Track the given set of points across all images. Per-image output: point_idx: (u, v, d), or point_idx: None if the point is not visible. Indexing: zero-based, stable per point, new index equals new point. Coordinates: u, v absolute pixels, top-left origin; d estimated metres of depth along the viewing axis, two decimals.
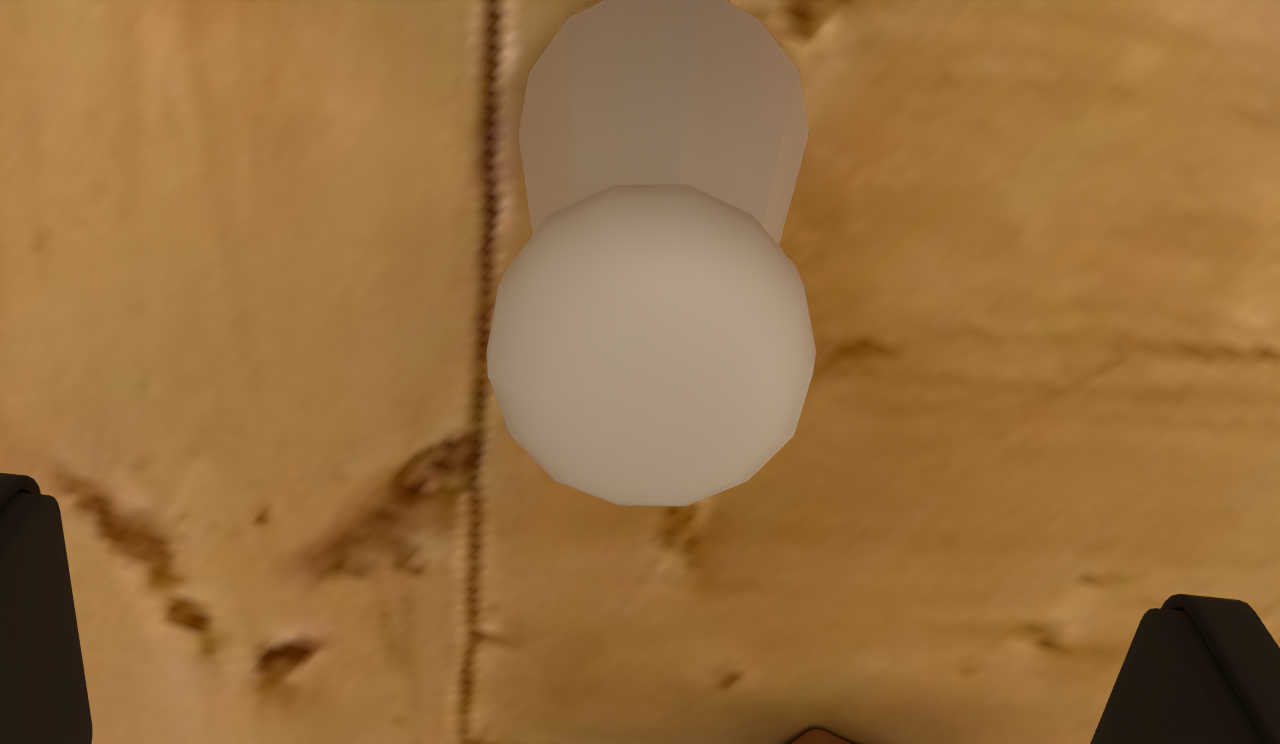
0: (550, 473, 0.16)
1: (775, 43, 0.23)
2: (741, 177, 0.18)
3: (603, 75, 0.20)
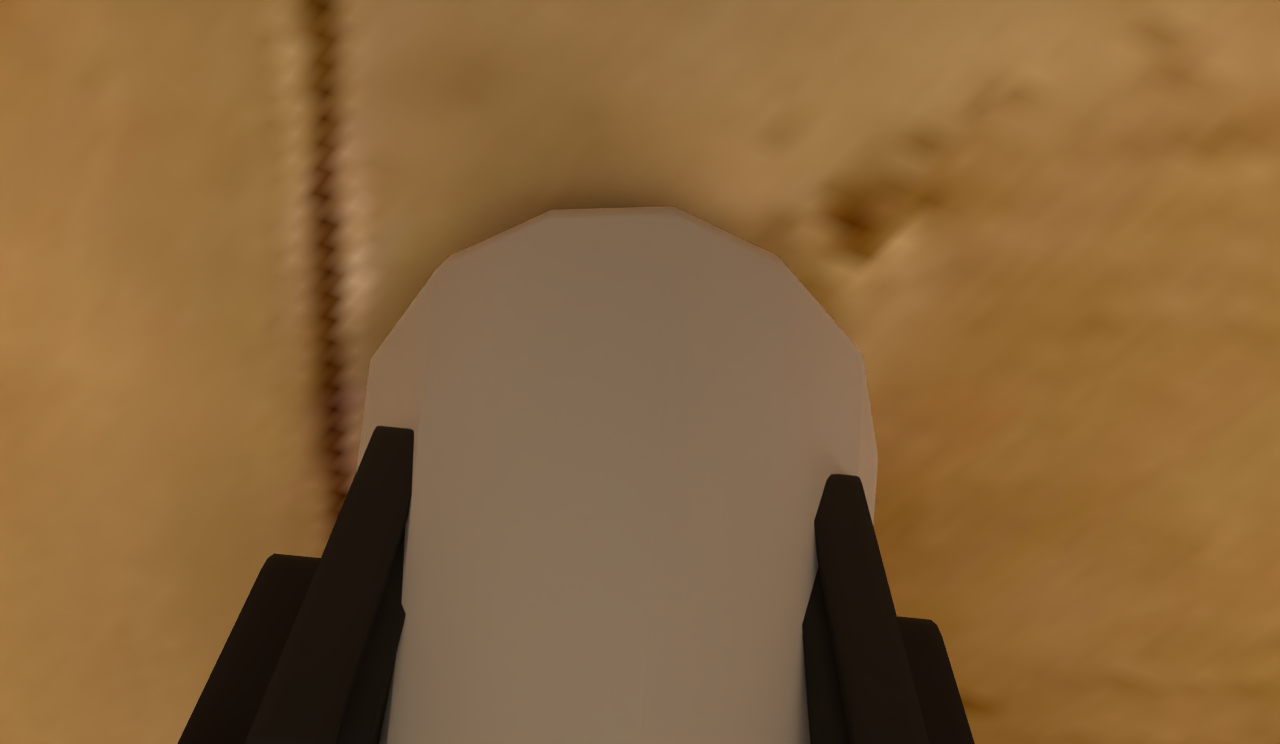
0: None
1: (821, 316, 0.12)
2: None
3: (480, 464, 0.09)
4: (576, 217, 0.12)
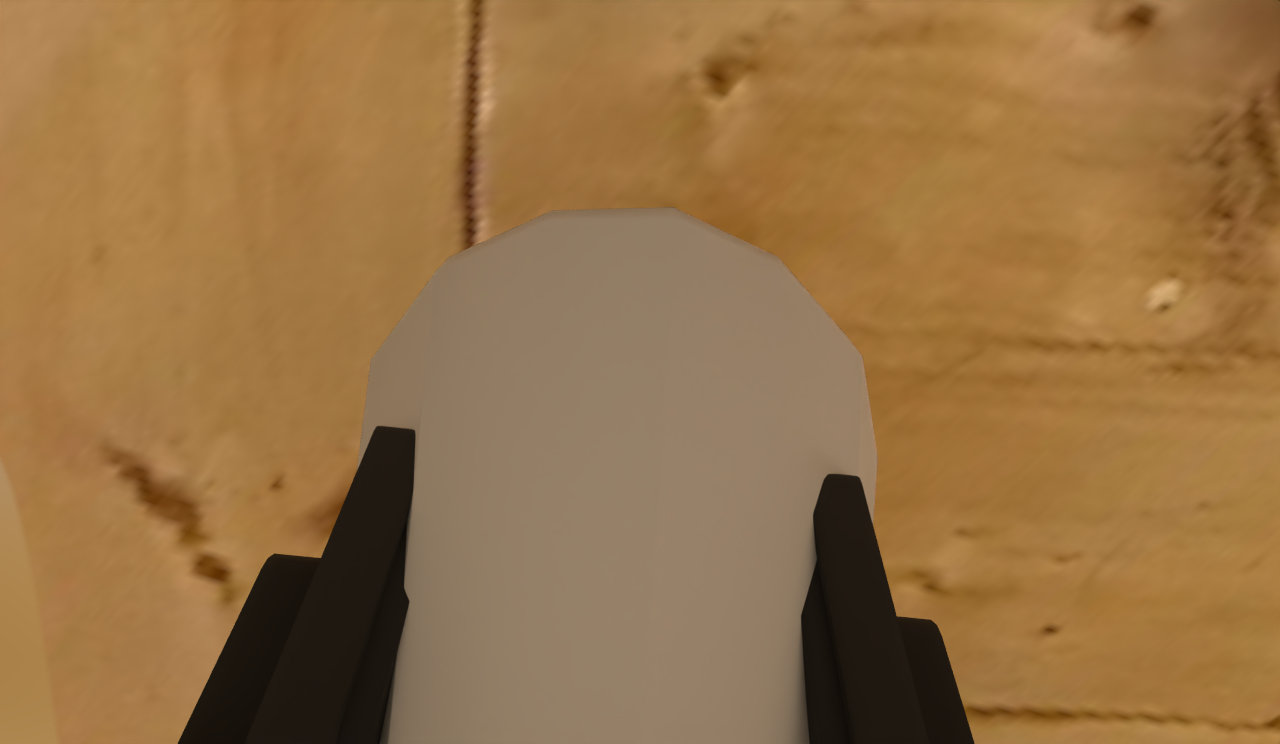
0: None
1: (821, 317, 0.12)
2: None
3: (479, 465, 0.10)
4: (576, 218, 0.12)
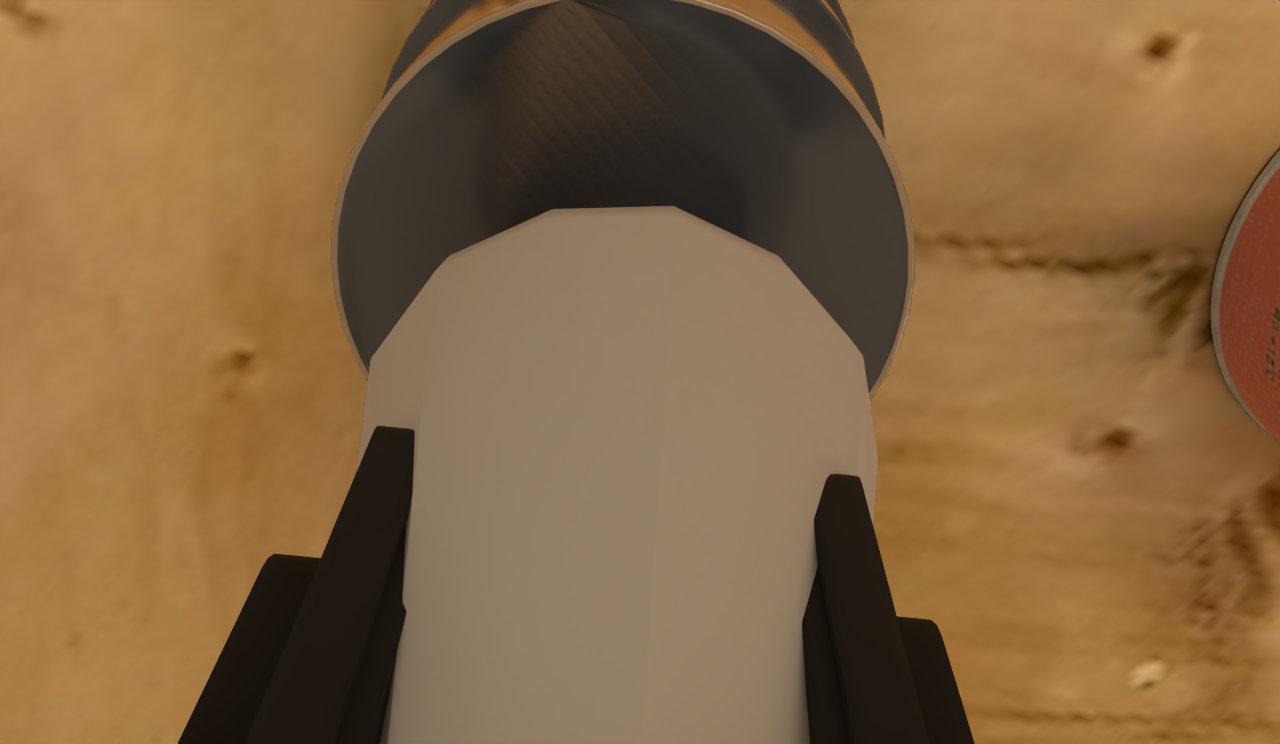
0: None
1: (821, 316, 0.12)
2: None
3: (480, 462, 0.10)
4: (576, 217, 0.12)
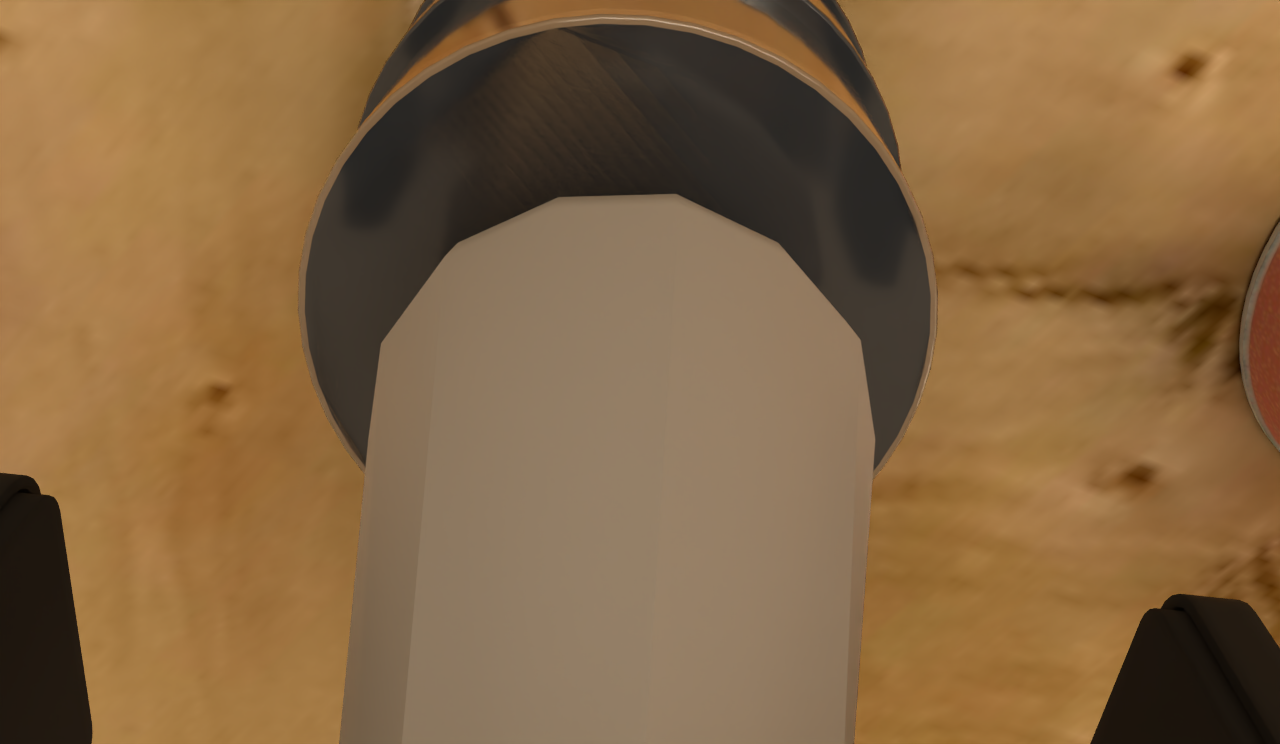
0: None
1: (820, 301, 0.13)
2: None
3: (492, 438, 0.10)
4: (582, 204, 0.12)
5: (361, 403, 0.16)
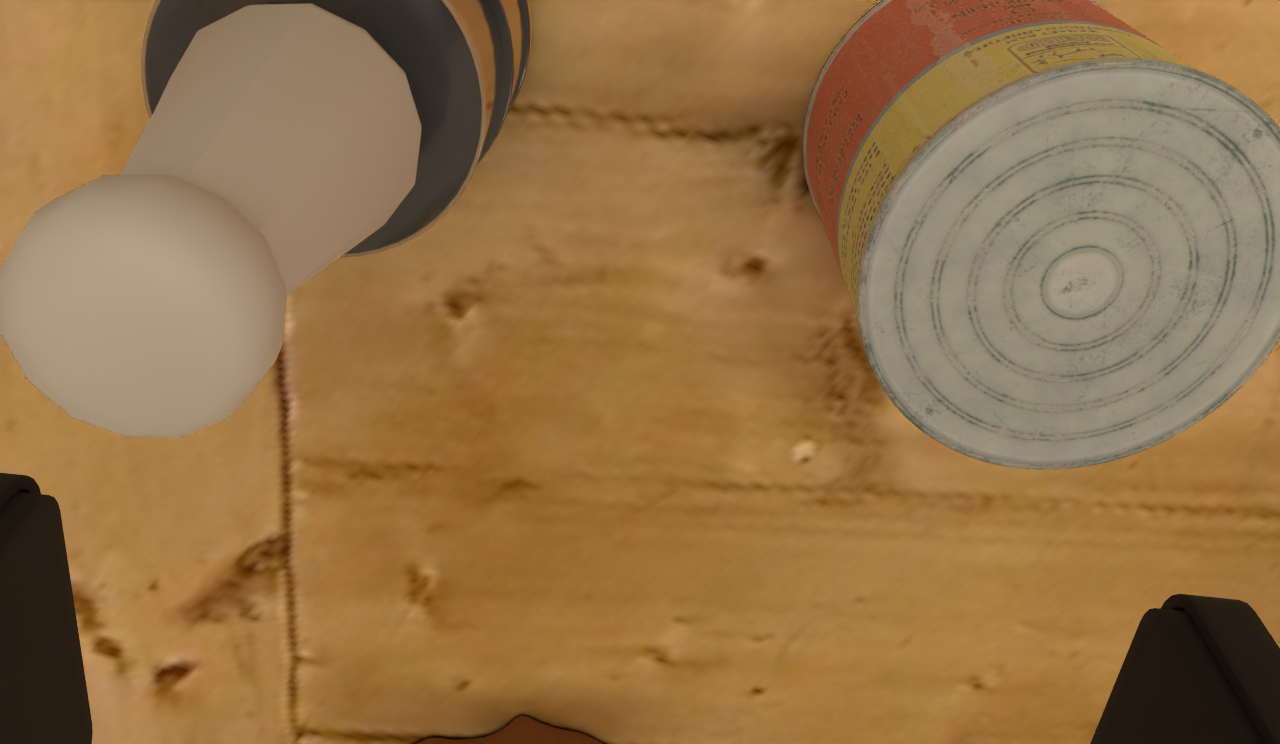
0: (64, 410, 0.19)
1: (378, 54, 0.26)
2: (271, 169, 0.22)
3: (190, 82, 0.23)
4: None
5: None
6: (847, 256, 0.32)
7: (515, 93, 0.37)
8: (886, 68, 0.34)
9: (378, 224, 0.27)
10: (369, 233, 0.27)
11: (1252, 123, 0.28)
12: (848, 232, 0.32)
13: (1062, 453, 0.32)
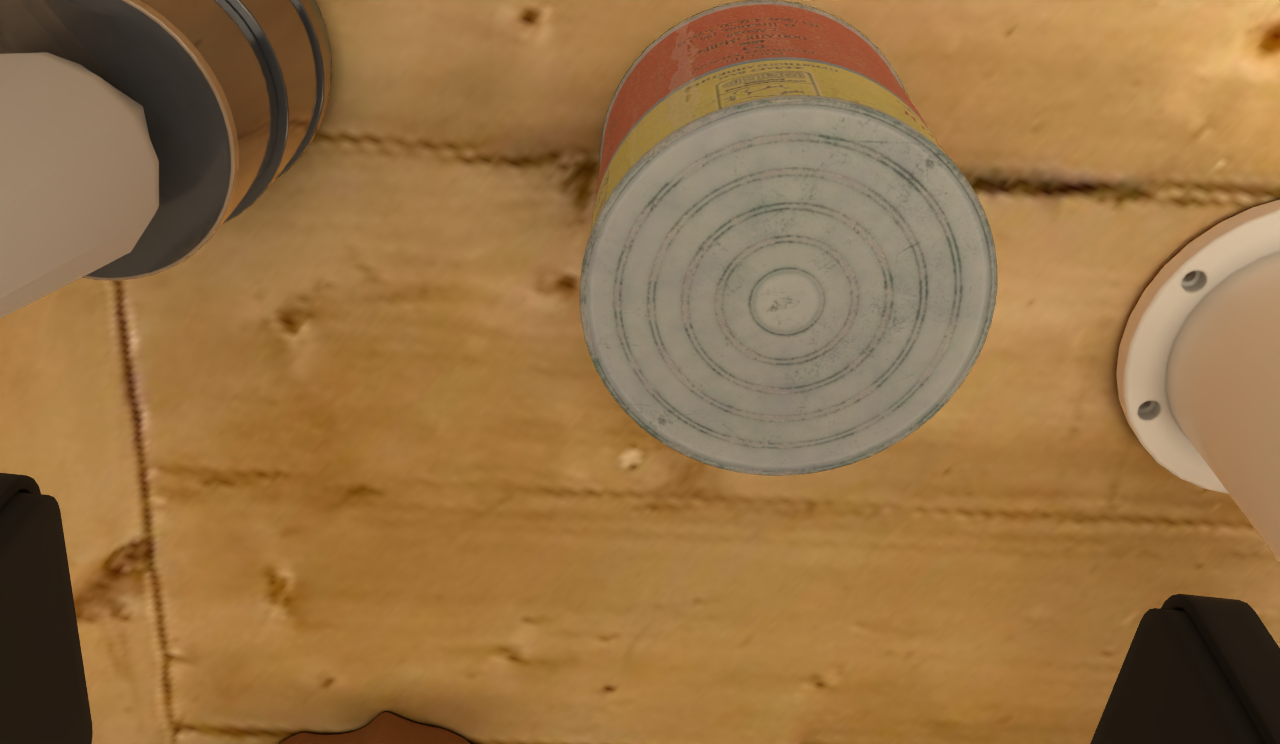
0: None
1: (105, 98, 0.29)
2: None
3: None
4: None
5: None
6: None
7: (314, 124, 0.40)
8: (638, 100, 0.36)
9: (116, 252, 0.30)
10: (105, 260, 0.30)
11: (923, 154, 0.30)
12: None
13: (792, 460, 0.35)
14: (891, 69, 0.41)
